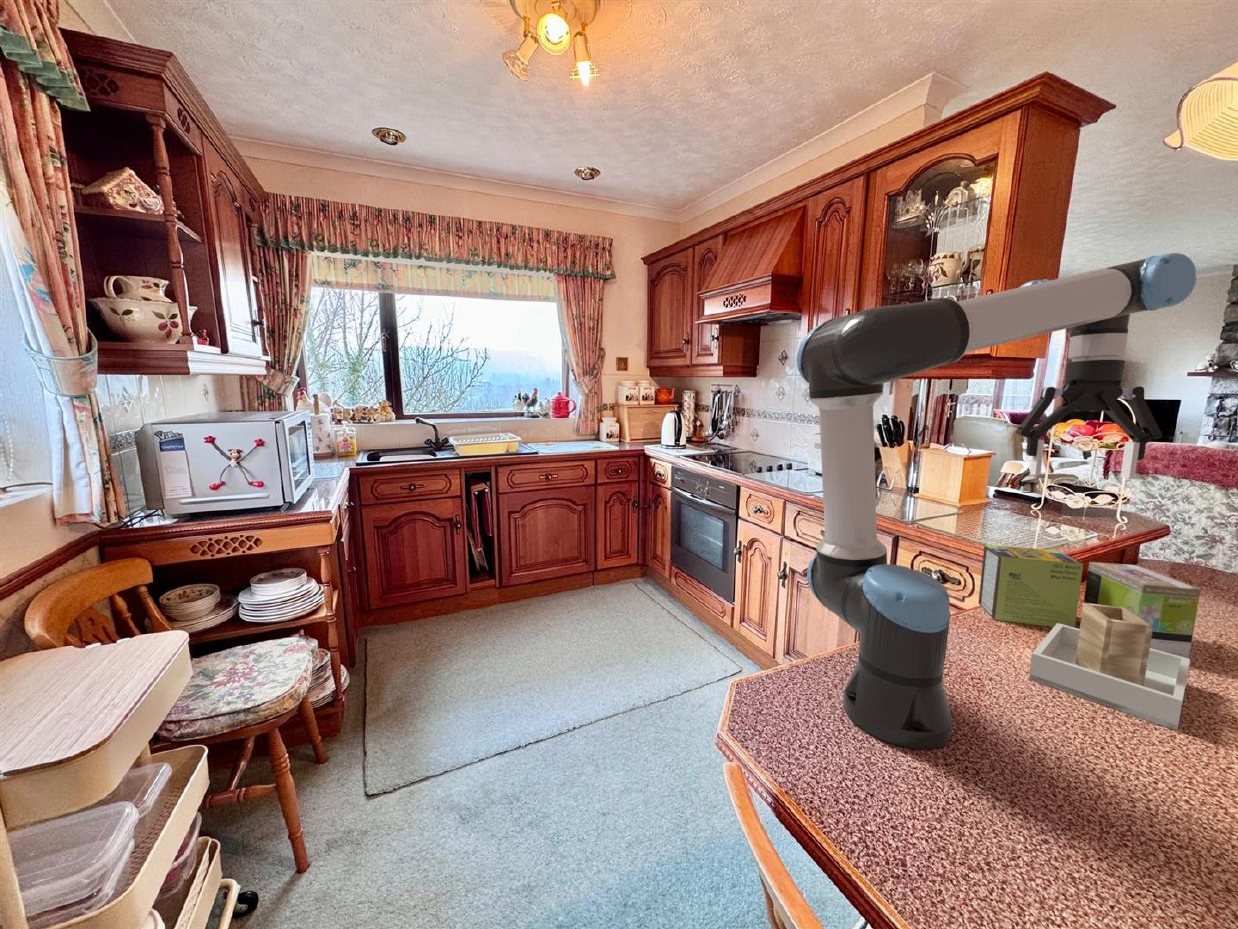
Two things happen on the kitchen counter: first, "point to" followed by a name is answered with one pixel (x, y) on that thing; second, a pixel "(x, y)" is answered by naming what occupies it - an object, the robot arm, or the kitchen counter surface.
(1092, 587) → the tea box
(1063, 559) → the protein box
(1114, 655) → the box
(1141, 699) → the tray
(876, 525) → the robot arm
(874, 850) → the kitchen counter surface
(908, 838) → the kitchen counter surface
